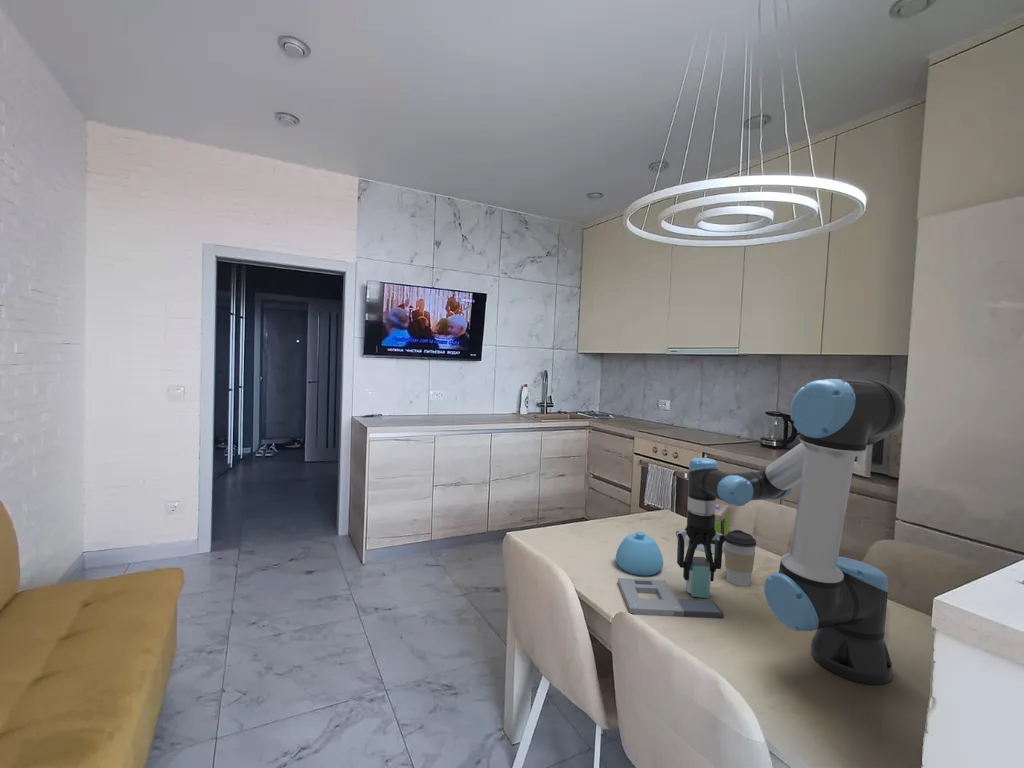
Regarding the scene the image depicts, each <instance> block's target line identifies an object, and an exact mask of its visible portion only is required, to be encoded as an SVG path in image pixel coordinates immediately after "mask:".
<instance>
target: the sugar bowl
mask: <svg viewBox="0 0 1024 768" xmlns="http://www.w3.org/2000/svg"><path fill="white" fill-rule="evenodd" d="M615 561H616V563H617V564H618V567H619V568H620V569H622V570H623V571H625V572H626V573H628V574H631V575H635V576H643V577H647V576H653V575H656V574H658V573H659V572H660V571H662V569H663V567H664V559H663V553H662V551H661V549H660V547H659V545H658V544H657V542H656V540H655V539H654V537H651V536H649V535H647V534H646V533H645V532H643V531H636V532H635V533H630V534H627V535H626V536H625V537H624V538H623V539H622V541H621V543H620V544H619V546H618V548H617V550H616V553H615Z"/></svg>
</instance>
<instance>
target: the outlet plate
mask: <svg viewBox="0 0 1024 768" xmlns="http://www.w3.org/2000/svg"><path fill="white" fill-rule="evenodd" d="M617 584H618V587H619V589H620V592H621V593H622V596H623V599H624V601H625V605H626V606H627V609H628V612H629V614H630V613H633V614H632V615H644V616H645V615H647V616H648V615H649V616H667V617H684V616H683V615H684V610H683V609H682V607H681V606H680V604H679V602H678V601H677V599H678V598H677V597H676V596H675V595H674V592H673V591H672V589H671V588H670V586H669V585H668V582H667V581H666V580H665V579H654V578H653V579H651V578H648V579H647V578H629V577H617ZM641 593H642V594H657V596H658V598H643V597H642V598H641V597H640V595H639V594H641ZM674 612H677V613H674ZM679 612H681V614H680V613H679ZM682 612H683V613H682Z"/></svg>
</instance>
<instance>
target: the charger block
mask: <svg viewBox="0 0 1024 768" xmlns="http://www.w3.org/2000/svg"><path fill="white" fill-rule="evenodd" d="M690 568H691V570H692V593H689V594H690V596H691V597H692V598H709V595H710V594H709V573H710V563H709V562H708V561H707V560H706V556H693V560H692V563H691V567H690Z"/></svg>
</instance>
